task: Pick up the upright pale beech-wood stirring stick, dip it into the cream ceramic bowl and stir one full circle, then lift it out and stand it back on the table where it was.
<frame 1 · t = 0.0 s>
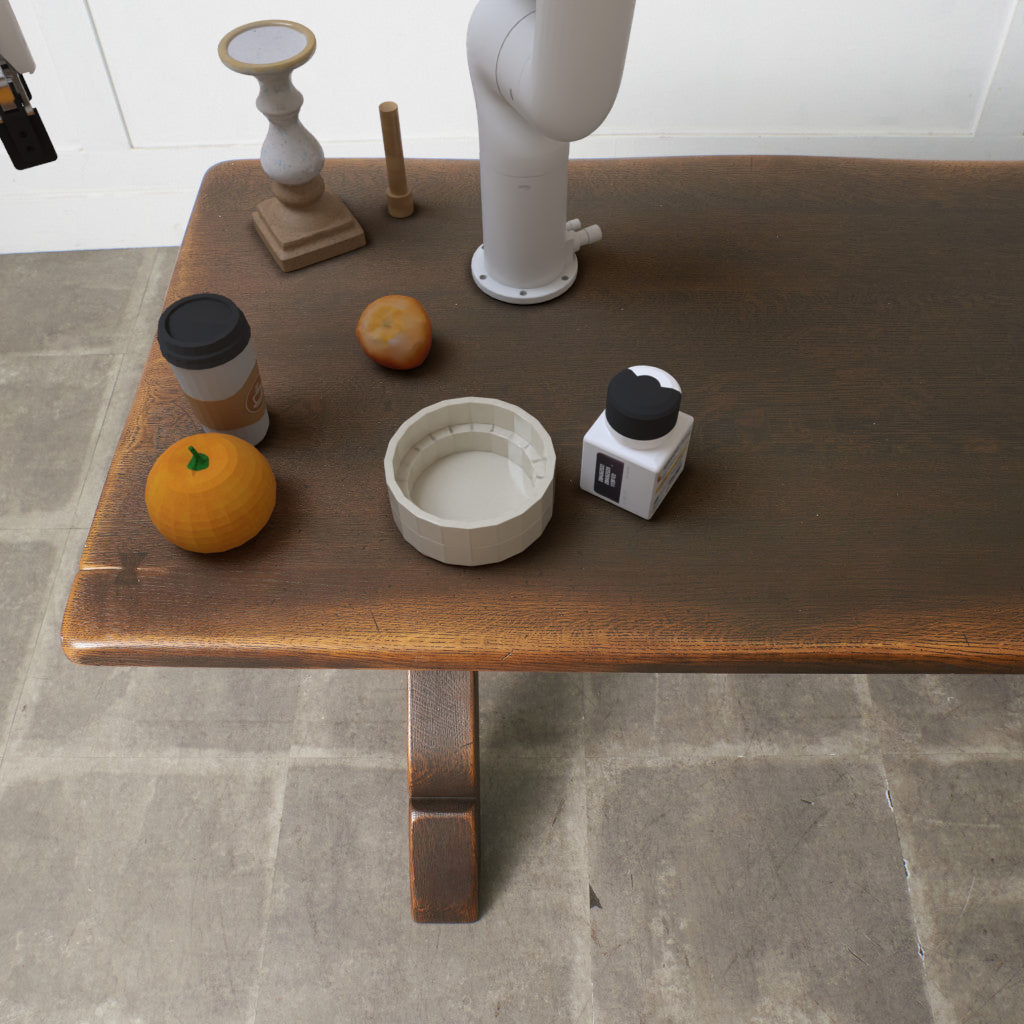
hand: (24, 132, 74), 31 cm above the table, tool pointing down, fingers open, 9 cm apart
candle holder: (309, 236, 116), on the table
coffee cup: (239, 431, 97), on the table
container: (631, 480, 92), on the table
fruit: (399, 357, 103), on the table
bowl: (473, 501, 91), on the table
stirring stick: (401, 210, 119), on the table
fruit 2: (223, 518, 90), on the table
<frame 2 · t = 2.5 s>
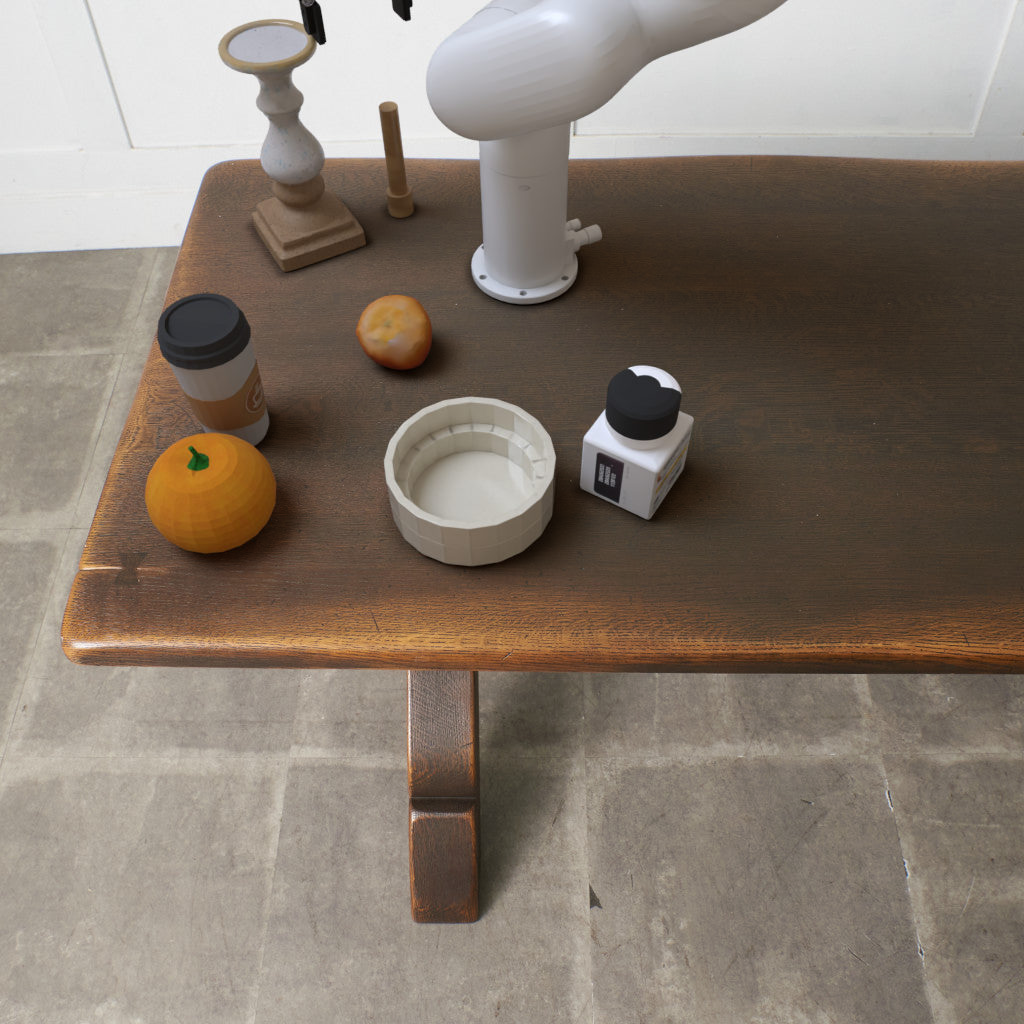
hand: (360, 27, 98), 24 cm above the table, tool pointing down, fingers open, 9 cm apart
candle holder: (309, 236, 116), on the table, touching gripper
everything else where it was.
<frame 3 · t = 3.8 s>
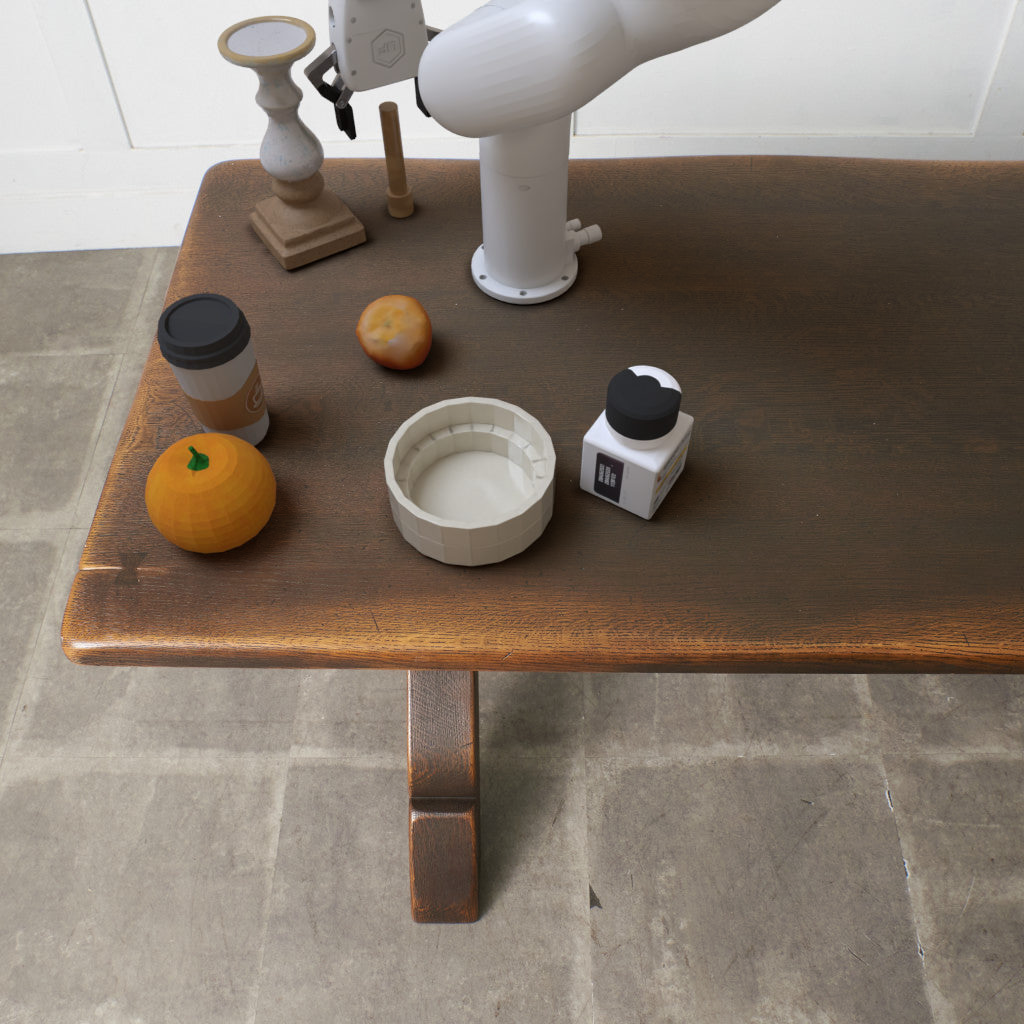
hand: (387, 122, 109), 12 cm above the table, tool pointing down, fingers open, 9 cm apart
candle holder: (309, 234, 116), on the table
everything else where it was.
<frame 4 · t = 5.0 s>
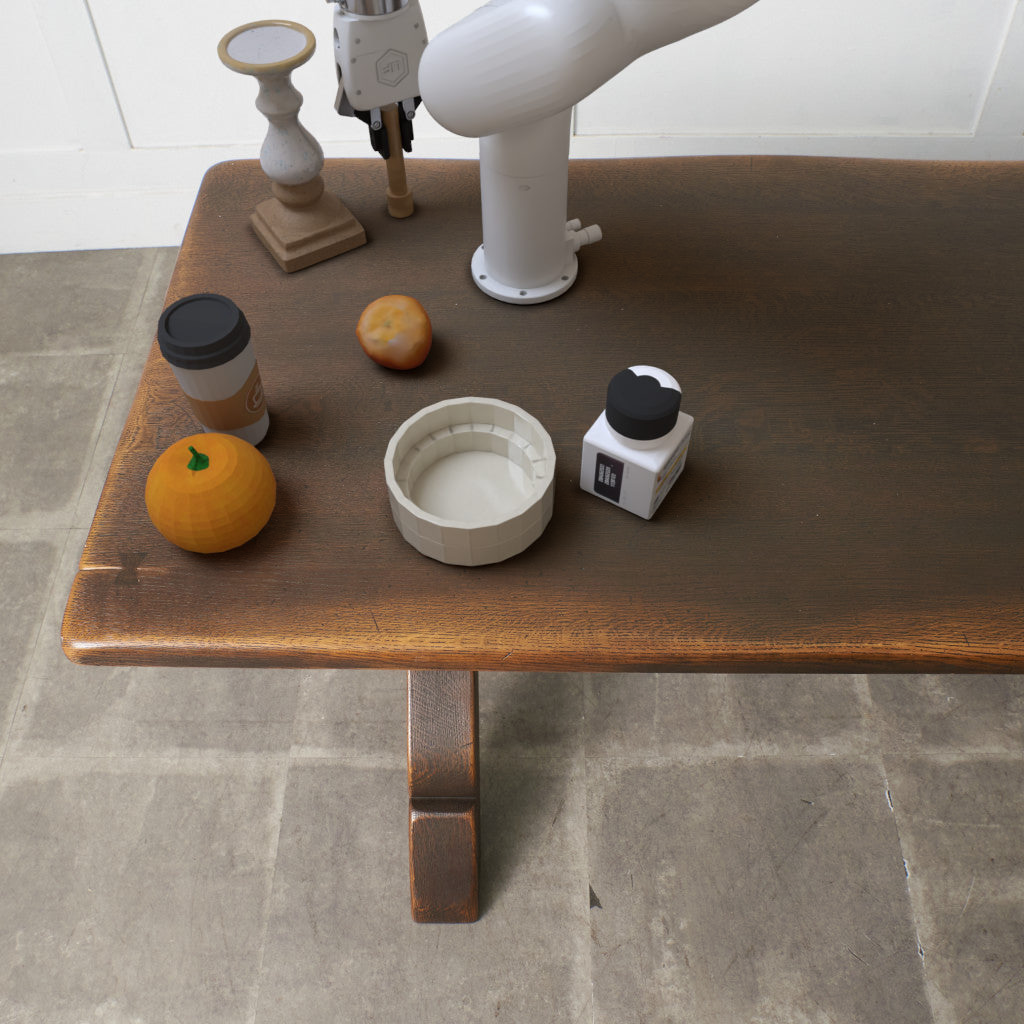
hand: (393, 149, 112), 9 cm above the table, tool pointing down, fingers closed on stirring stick, 2 cm apart
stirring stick: (401, 210, 119), on the table, touching gripper
everything else where it was.
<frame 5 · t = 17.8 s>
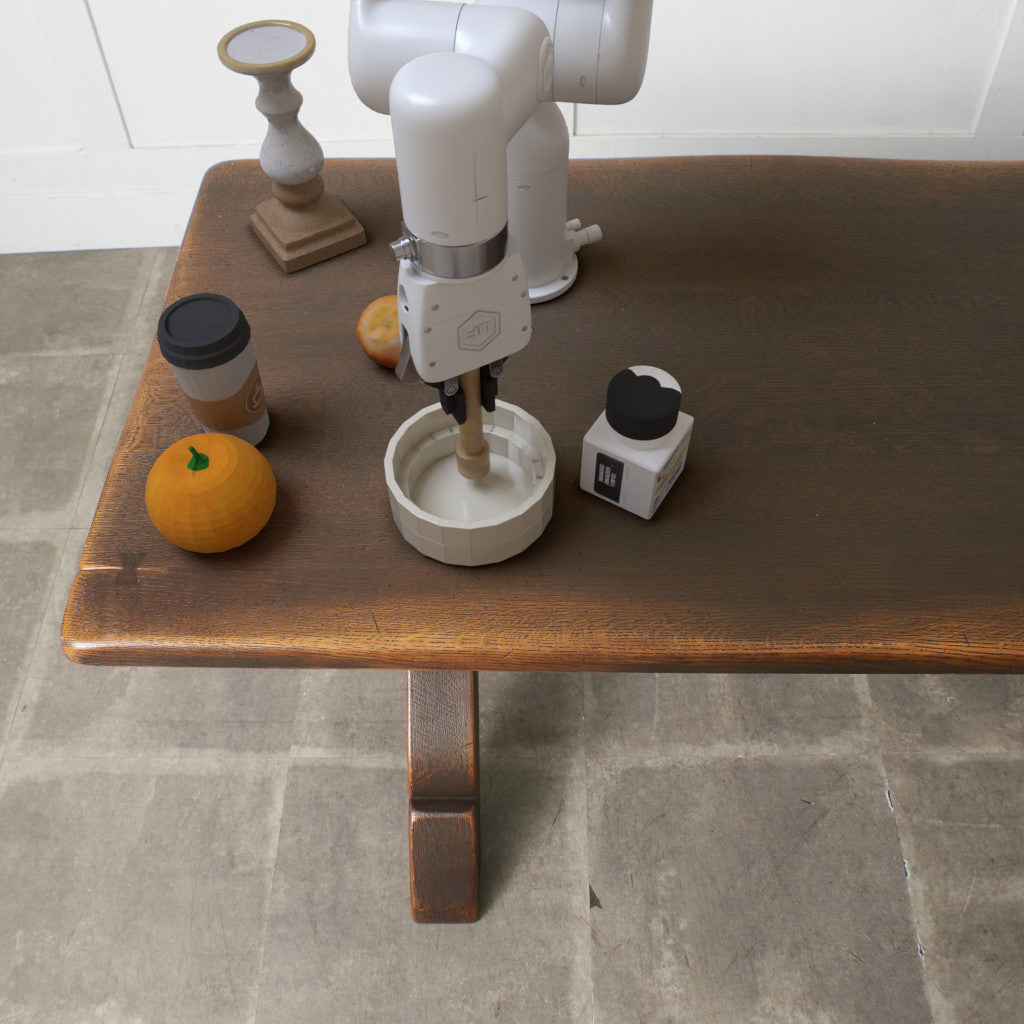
hand: (469, 406, 83), 11 cm above the table, tool pointing down, fingers closed on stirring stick
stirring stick: (473, 467, 90), point 3 cm above the table, touching gripper
everything else where it was.
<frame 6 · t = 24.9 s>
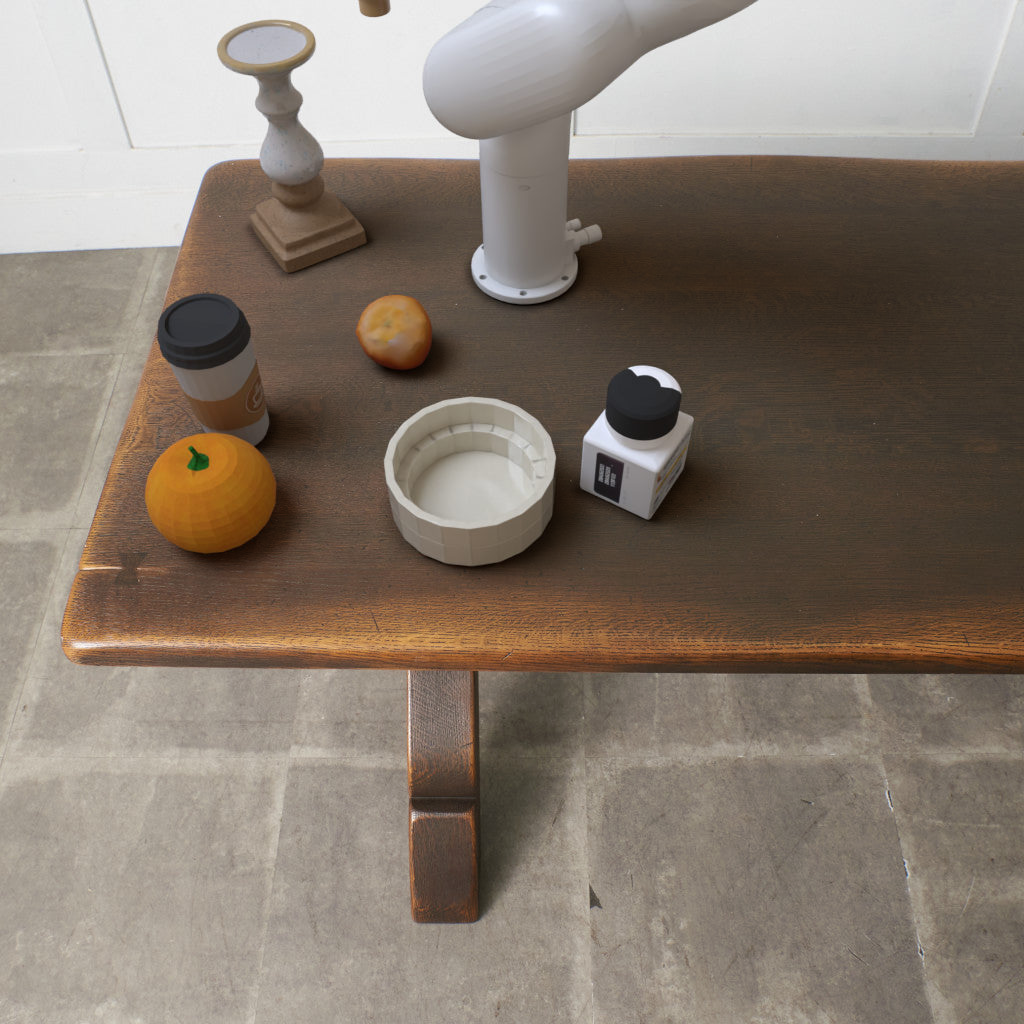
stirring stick: (375, 10, 97), point 26 cm above the table, touching gripper
everything else where it was.
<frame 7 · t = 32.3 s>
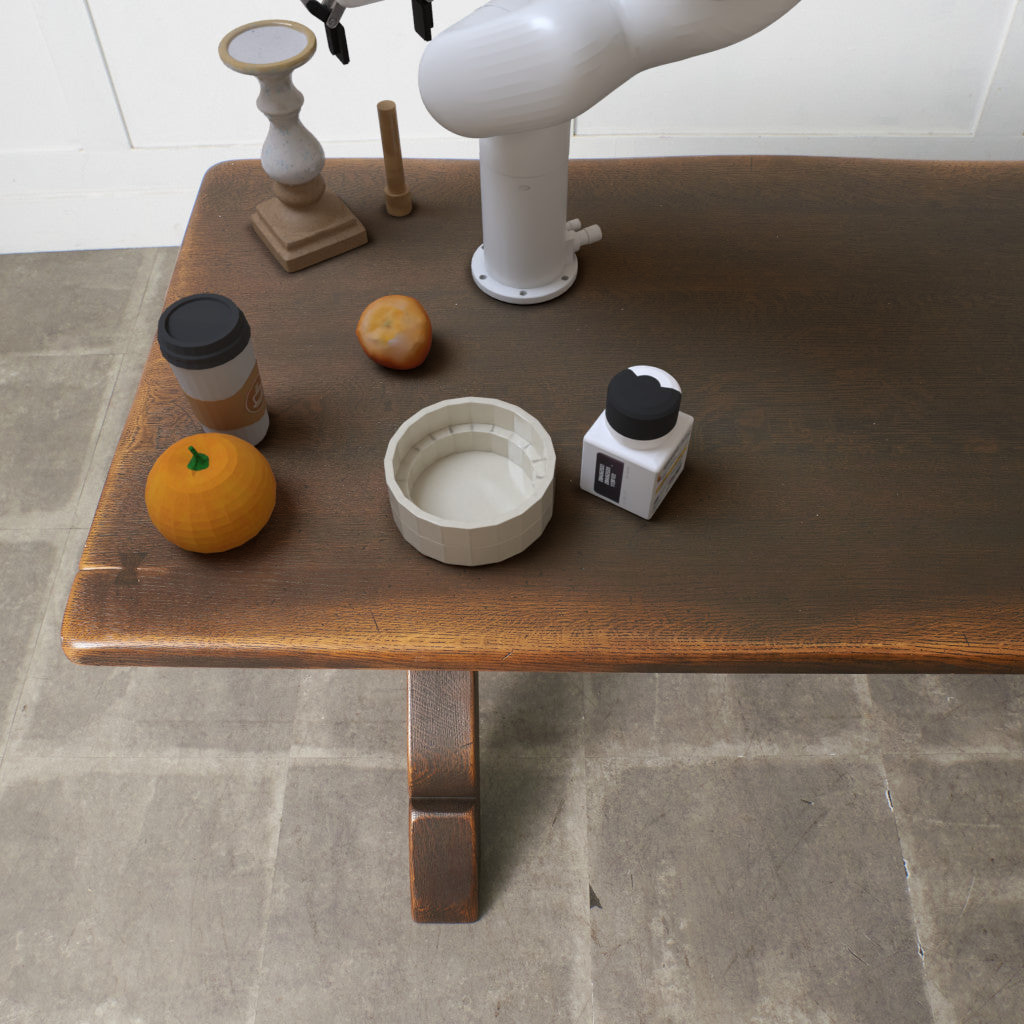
hand: (383, 47, 102), 21 cm above the table, tool pointing down, fingers open, 9 cm apart
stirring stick: (399, 209, 119), on the table
everything else where it was.
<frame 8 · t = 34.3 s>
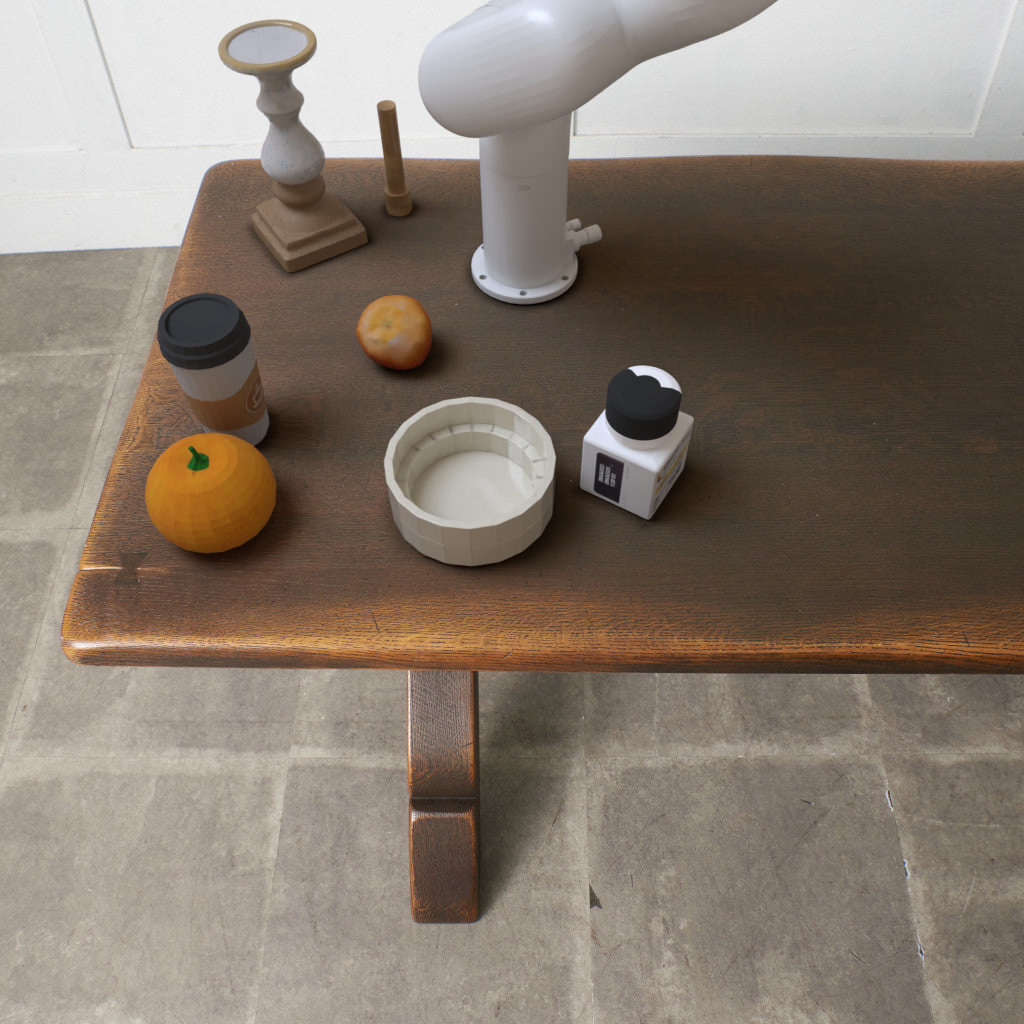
nothing on the table moved.
at the end: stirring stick 0.4 cm from the target spot on the table beside the bowl, on the table; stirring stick tilted 0°; the gripper is holding nothing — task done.
